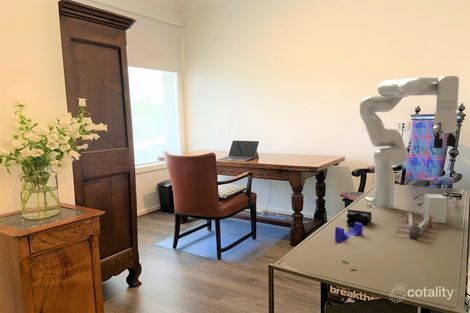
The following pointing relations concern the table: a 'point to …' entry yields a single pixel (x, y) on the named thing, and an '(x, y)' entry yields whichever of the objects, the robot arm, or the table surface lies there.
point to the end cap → (358, 217)
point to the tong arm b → (425, 224)
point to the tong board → (422, 237)
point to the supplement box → (435, 207)
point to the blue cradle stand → (348, 232)
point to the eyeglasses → (444, 196)
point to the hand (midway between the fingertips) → (444, 147)
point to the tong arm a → (409, 220)
